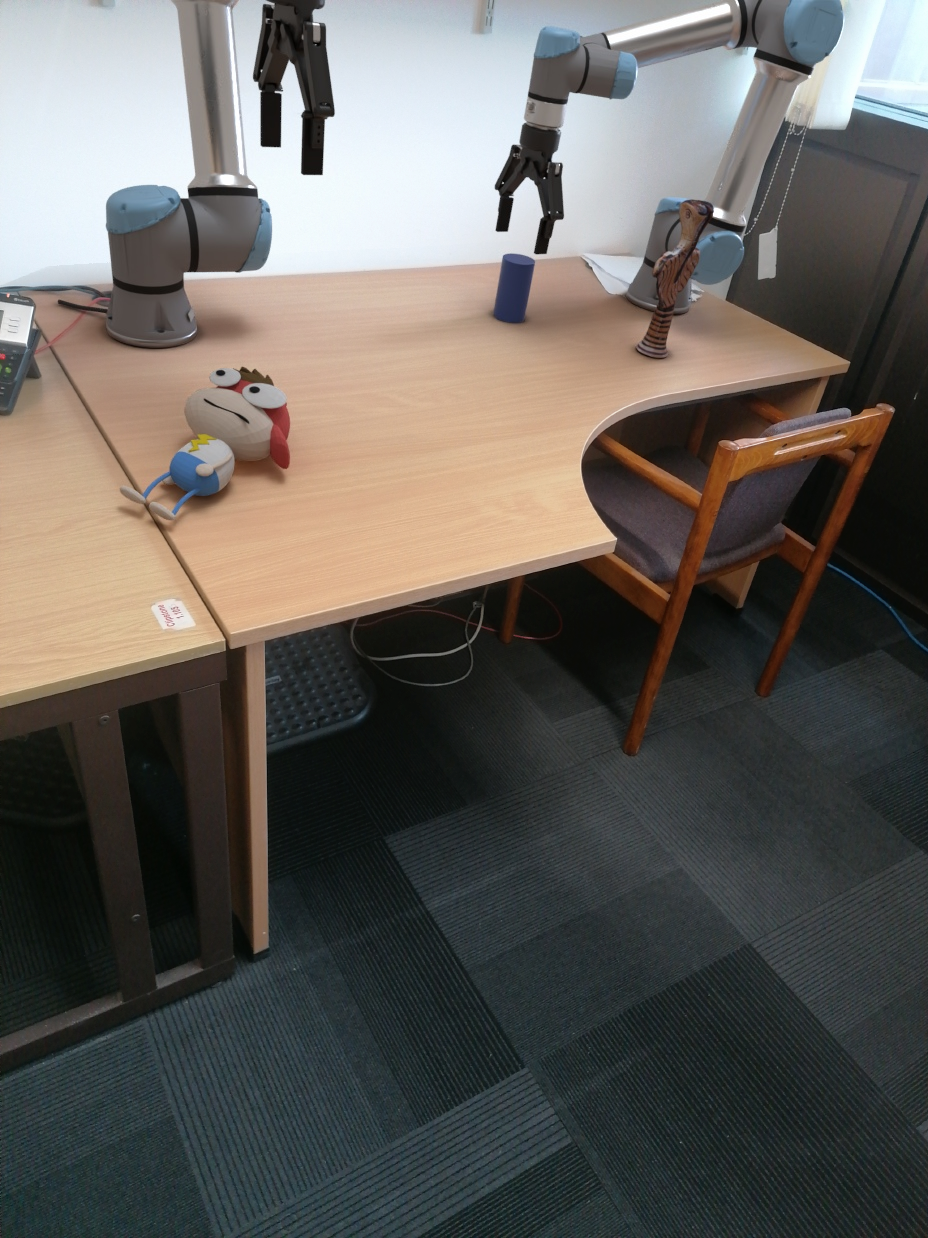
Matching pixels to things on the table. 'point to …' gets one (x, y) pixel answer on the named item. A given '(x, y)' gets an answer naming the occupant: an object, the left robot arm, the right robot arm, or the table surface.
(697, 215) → the figurine
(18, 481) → the table surface
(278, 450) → the toy
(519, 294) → the canister
